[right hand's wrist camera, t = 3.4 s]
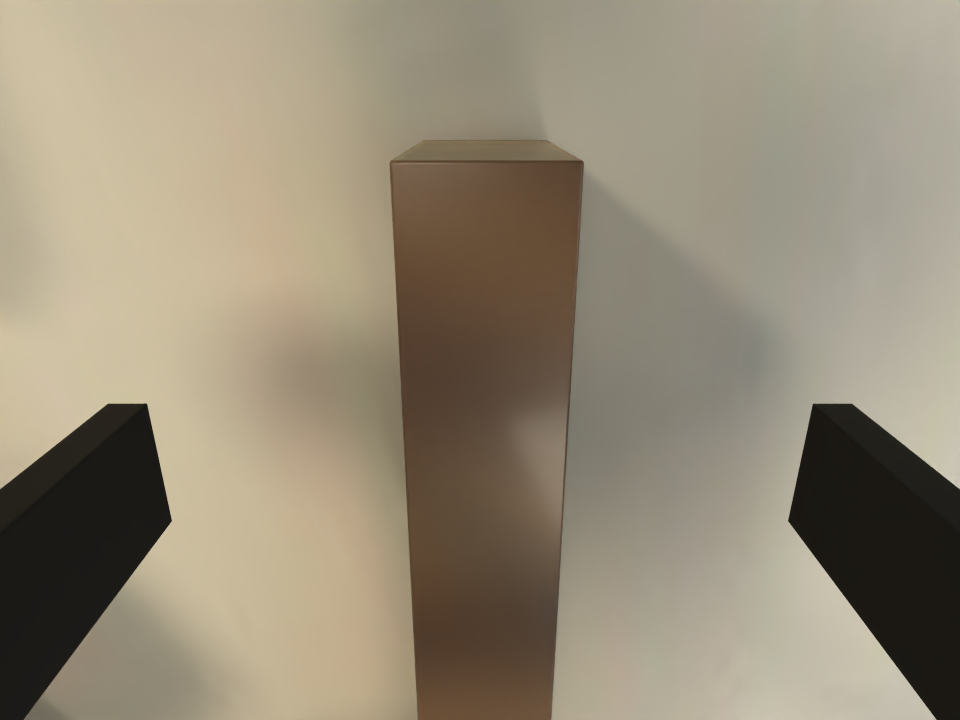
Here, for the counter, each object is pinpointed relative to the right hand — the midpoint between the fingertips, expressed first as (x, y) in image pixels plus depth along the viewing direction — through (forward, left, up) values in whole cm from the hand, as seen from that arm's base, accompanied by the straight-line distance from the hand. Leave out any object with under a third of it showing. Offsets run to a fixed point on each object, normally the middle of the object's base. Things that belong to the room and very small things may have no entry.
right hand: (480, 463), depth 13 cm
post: (+17, -19, -13) cm, 29 cm away
